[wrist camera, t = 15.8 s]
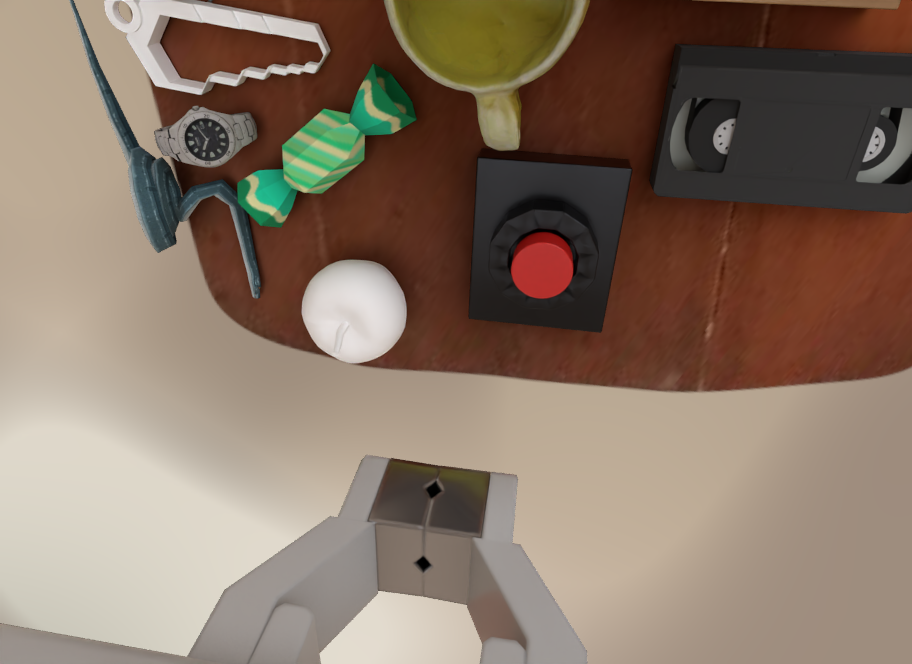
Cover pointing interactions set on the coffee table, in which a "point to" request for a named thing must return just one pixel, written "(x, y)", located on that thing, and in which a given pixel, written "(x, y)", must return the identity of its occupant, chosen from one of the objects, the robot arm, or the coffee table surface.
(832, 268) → the coffee table surface
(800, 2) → the base
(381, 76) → the candy
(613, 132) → the coffee table surface
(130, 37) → the key shaped keychain
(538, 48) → the mug
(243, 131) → the wristwatch
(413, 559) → the robot arm
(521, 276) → the button
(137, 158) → the stylized snake
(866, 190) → the vhs tape
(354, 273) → the plain white apple
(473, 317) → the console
